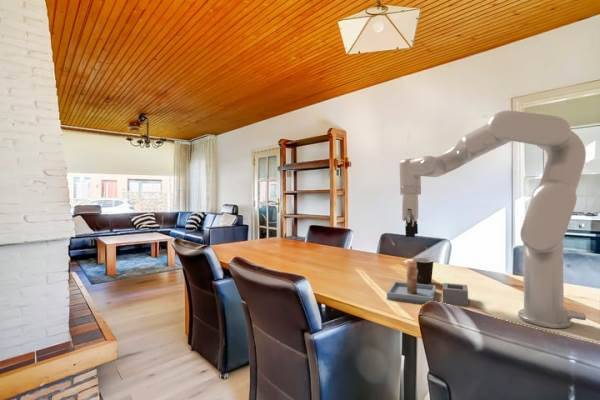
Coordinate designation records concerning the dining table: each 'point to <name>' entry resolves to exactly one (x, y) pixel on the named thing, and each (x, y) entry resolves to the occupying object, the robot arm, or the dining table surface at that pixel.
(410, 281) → the dowel
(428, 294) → the tray
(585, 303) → the dining table surface
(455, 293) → the socket block
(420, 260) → the coffee mug
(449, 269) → the dining table surface
